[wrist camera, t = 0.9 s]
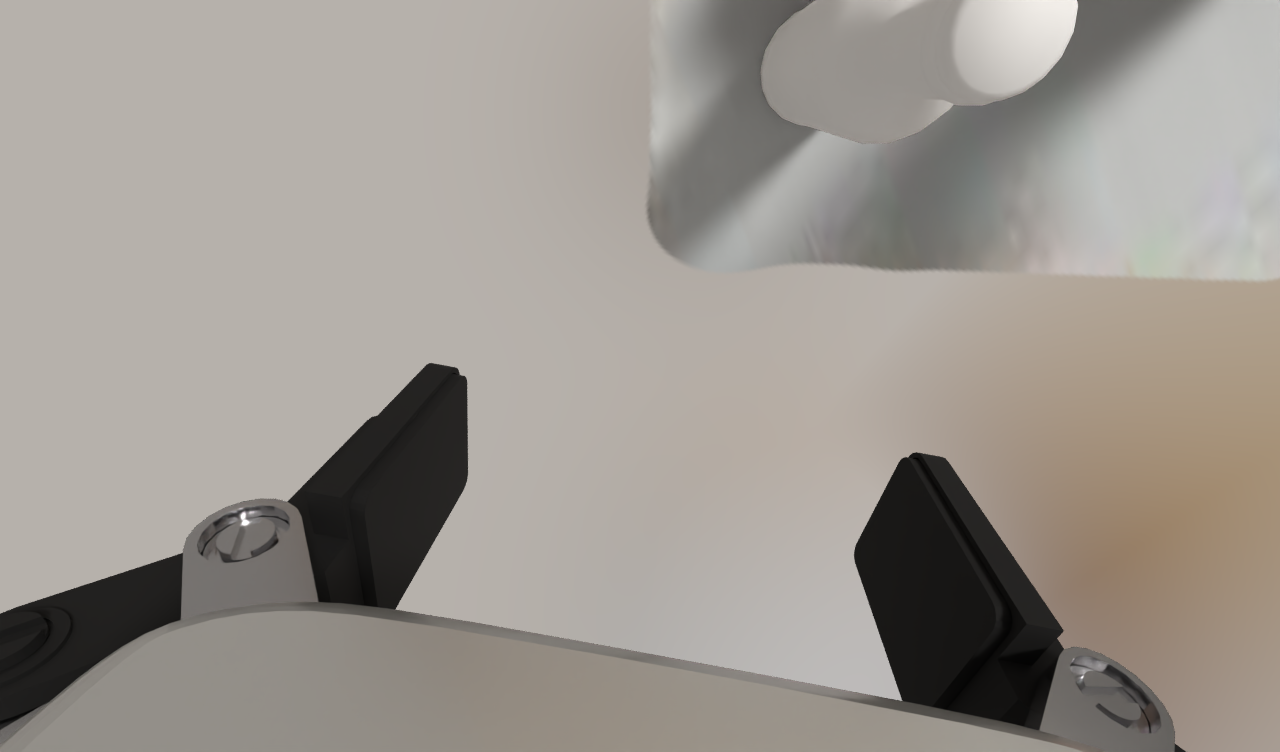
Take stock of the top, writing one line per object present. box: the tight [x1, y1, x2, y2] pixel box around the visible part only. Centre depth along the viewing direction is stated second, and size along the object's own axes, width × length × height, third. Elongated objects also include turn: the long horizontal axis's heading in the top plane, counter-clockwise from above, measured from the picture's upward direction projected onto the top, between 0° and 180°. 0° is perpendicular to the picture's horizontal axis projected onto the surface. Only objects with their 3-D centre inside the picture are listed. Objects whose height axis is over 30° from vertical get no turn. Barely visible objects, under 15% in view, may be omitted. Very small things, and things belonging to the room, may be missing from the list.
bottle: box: [760, 0, 1078, 143], centre depth 28 cm, size 8×8×30 cm
